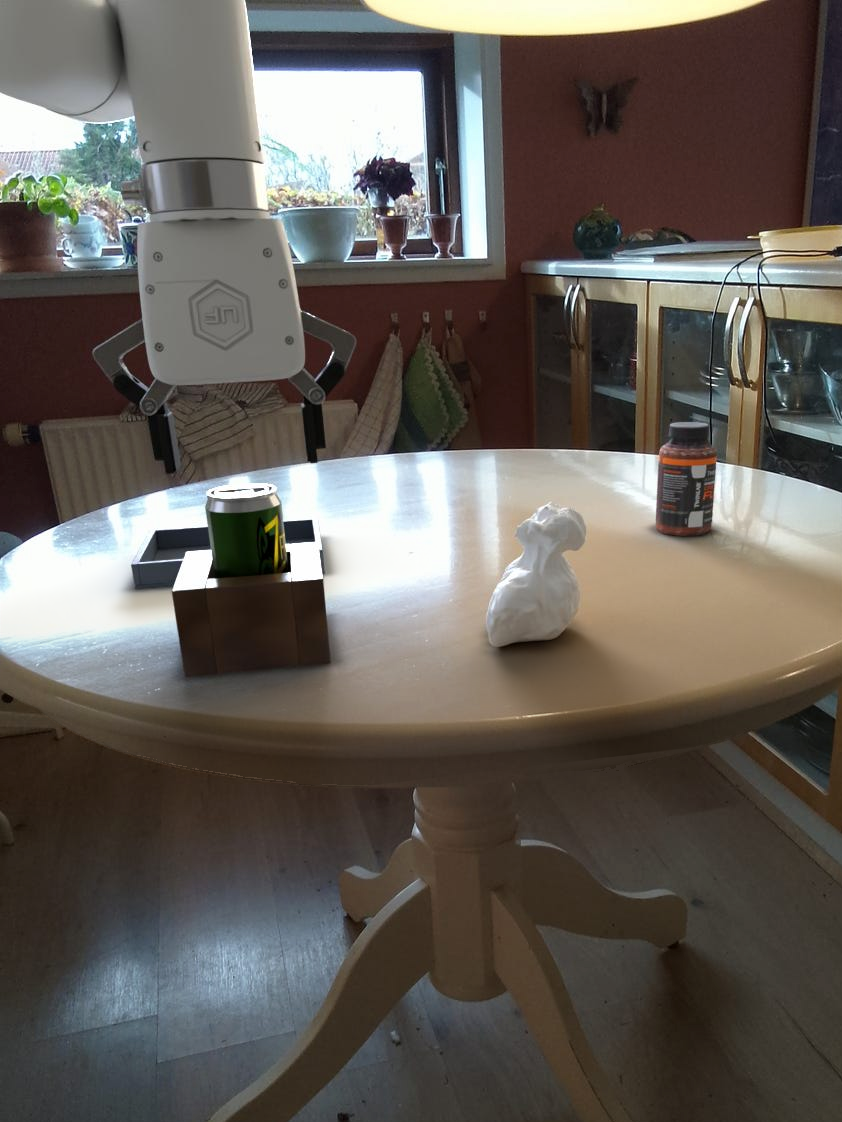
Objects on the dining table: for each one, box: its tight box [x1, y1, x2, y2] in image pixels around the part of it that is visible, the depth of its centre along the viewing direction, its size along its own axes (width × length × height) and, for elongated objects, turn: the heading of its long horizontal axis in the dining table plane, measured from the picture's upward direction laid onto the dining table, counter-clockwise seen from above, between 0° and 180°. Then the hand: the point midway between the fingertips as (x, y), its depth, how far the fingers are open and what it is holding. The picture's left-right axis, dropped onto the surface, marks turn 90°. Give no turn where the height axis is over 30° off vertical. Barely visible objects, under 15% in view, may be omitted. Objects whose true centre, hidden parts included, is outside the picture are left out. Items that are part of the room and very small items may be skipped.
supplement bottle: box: [655, 421, 718, 537], centre depth 97 cm, size 6×6×11 cm
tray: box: [130, 517, 326, 590], centre depth 91 cm, size 17×13×2 cm
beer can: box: [204, 483, 289, 579], centre depth 68 cm, size 5×5×12 cm
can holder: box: [171, 542, 332, 678], centre depth 69 cm, size 10×10×6 cm
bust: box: [485, 501, 587, 648], centre depth 69 cm, size 12×8×11 cm
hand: (243, 465), depth 65 cm, fingers open, 9 cm apart
